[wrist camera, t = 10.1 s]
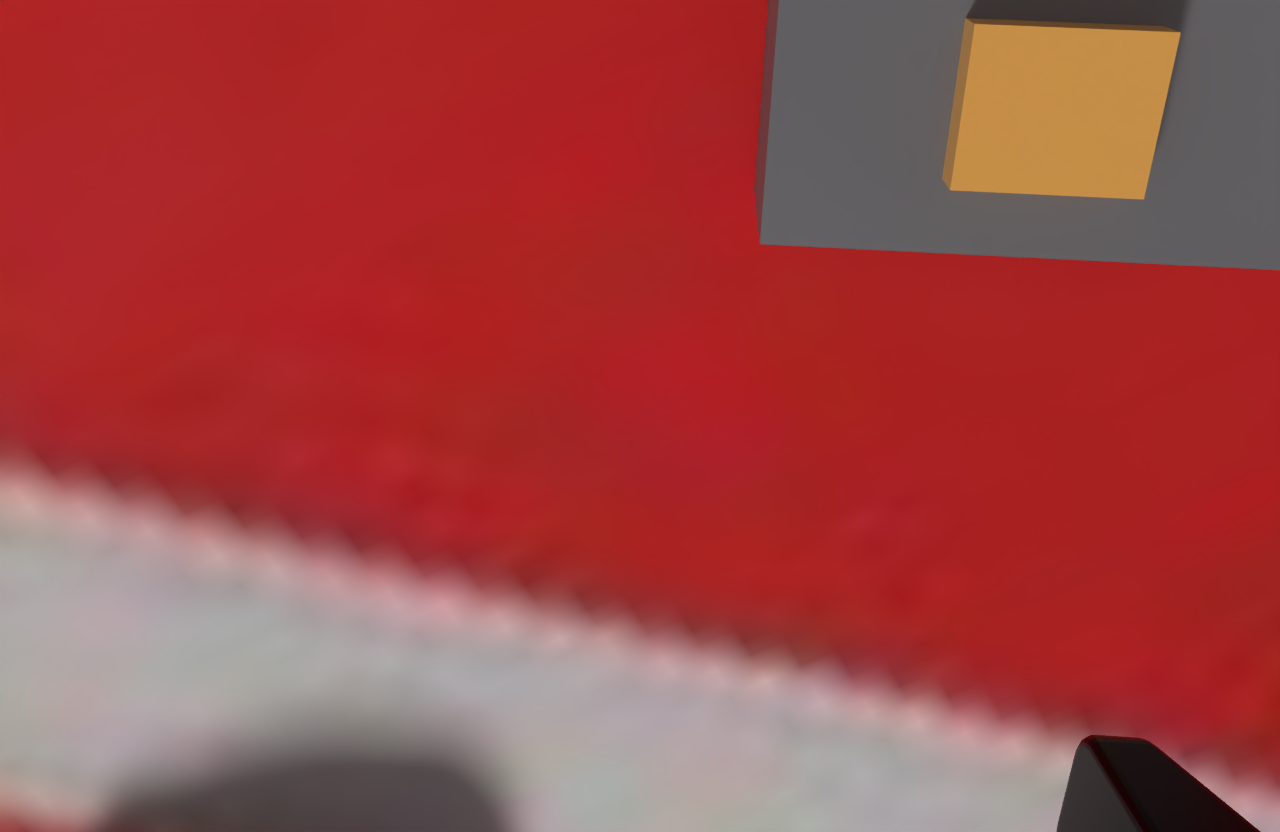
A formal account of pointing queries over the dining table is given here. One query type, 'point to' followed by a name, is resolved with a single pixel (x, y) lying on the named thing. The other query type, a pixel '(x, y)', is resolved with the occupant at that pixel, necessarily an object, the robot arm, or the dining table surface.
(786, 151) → the power strip
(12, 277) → the dining table surface
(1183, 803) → the robot arm
